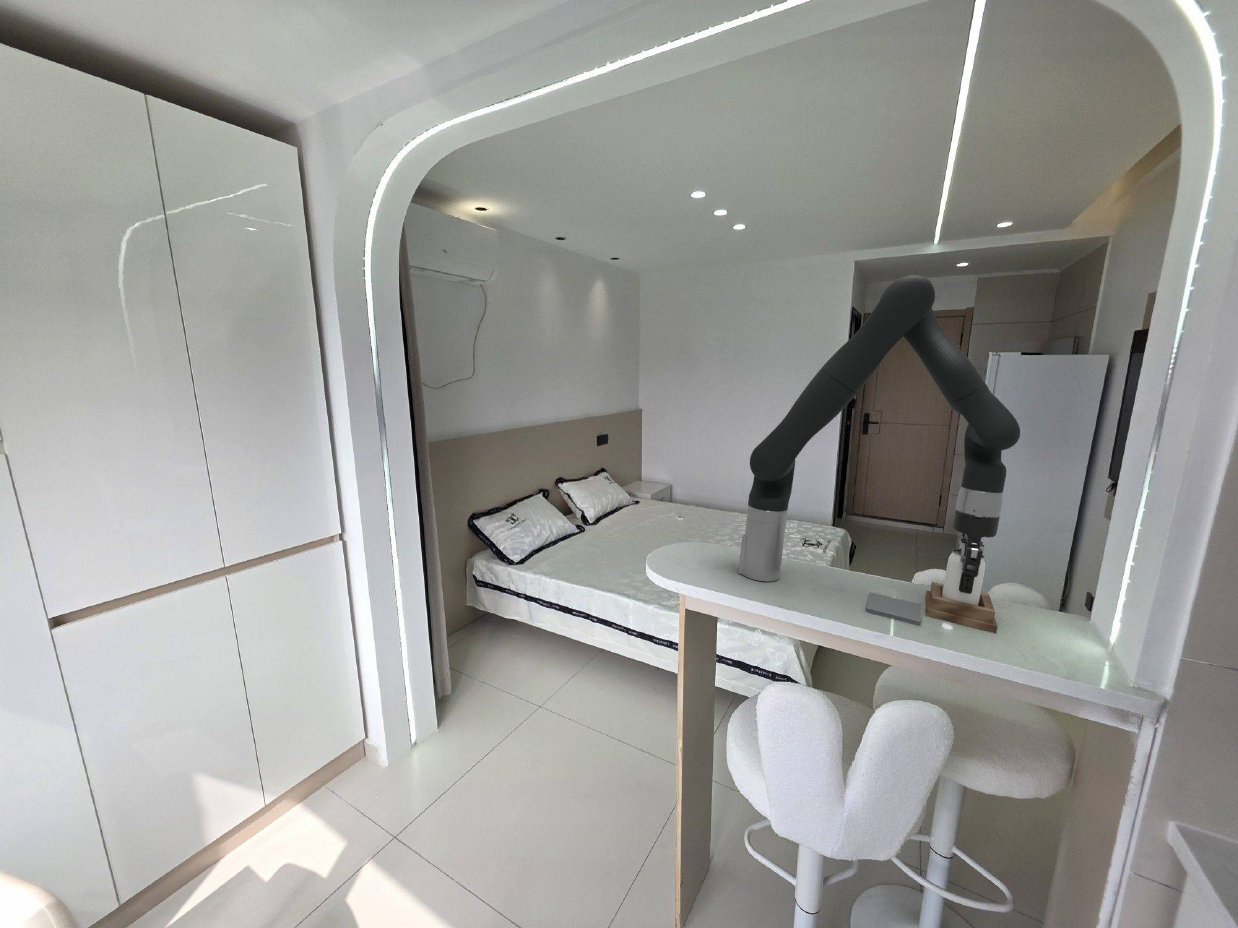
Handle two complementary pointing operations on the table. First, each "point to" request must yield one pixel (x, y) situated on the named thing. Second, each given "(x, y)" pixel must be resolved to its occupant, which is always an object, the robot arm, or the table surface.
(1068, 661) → the table surface
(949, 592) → the can
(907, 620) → the mat
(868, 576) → the table surface
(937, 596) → the socket block
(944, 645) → the table surface
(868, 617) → the table surface
